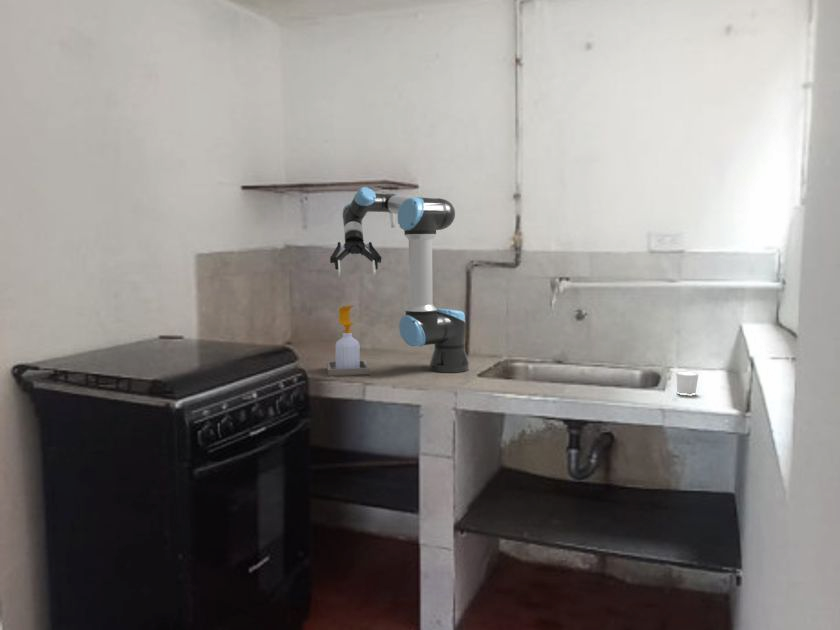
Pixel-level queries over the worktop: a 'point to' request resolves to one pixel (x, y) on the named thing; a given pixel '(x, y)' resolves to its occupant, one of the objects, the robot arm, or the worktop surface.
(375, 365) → the worktop surface
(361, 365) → the tray
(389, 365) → the worktop surface
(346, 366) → the soap bottle
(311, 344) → the worktop surface
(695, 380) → the white cup
